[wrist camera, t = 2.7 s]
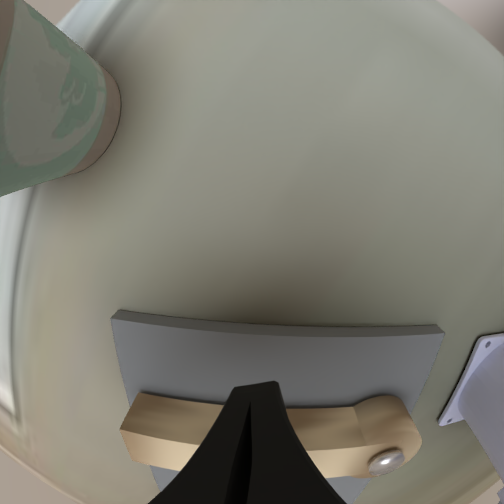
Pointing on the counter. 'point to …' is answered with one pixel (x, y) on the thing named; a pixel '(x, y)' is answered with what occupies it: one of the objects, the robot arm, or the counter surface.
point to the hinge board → (273, 365)
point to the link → (302, 420)
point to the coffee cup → (49, 101)
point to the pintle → (386, 462)
